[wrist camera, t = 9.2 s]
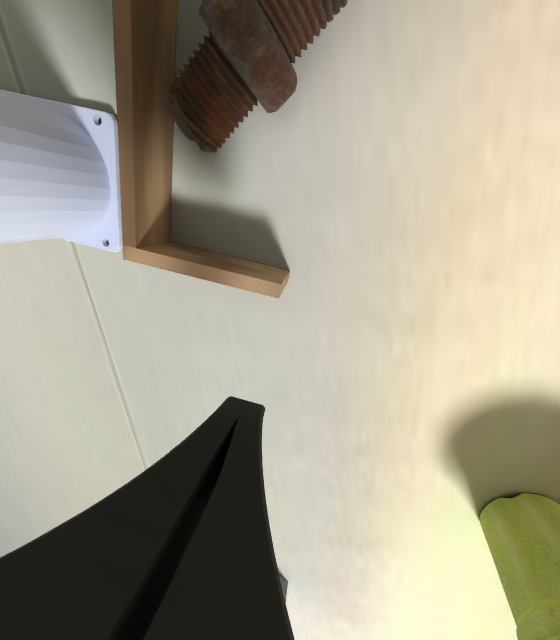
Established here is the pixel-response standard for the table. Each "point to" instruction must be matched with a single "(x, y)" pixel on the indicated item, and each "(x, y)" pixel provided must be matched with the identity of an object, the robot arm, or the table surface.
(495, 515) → the plant pot
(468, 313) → the table surface
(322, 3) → the bolt
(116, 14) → the frame
